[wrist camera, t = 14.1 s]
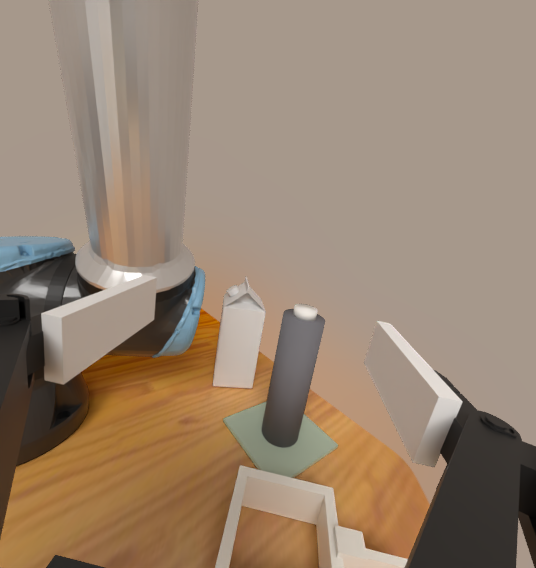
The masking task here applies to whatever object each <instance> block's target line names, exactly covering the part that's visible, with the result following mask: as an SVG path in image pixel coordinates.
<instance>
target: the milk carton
mask: <svg viewBox="0 0 536 568" xmlns="http://www.w3.org/2000/svg"><path fill="white" fill-rule="evenodd" d="M265 313H266V311H265V309H264V306H263V303H262V300H261V298H260V297H259V296H258V295H257V294H256V293H255V292H254V291H253V290H252V288H251V287H250V286H249V284H248V280H247V277H245V282H244V283H242V284H241V285H239V286H237V285H234V286H232V287H230V288H229V289H228V290H227V291H226V294H225V295H224V300H223V308H222V315H221V322H220V330H219V337H218V344H217V352H216V359H215V367H214V376H213V386H217V387H234V388H252V387H253V381H254V376H255V370H256V364H257V359H258V353H259V347H260V342H261V336H262V330H263V325H264V319H265Z"/></svg>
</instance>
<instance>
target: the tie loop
mask: <svg viewBox="0 0 536 568" xmlns="http://www.w3.org/2000/svg"><path fill="white" fill-rule="evenodd" d="M242 506H245V507H249V508H253V509H256V510H260V511H264V512H268V513H272V514H276V515H280V516H284V517H288V518H292V519H296V520H299V521H303V522H307V523H311V524H315V525H316V528H317V544H318V561H319V568H405V565H406V563H407V560H408V559H405V558H401V557H397V556H394V555H390V554H386V553H382V552H378V551H374V550H370V549H366V548H365V543H364V539H363V534H362V532H361V531H357V530H353V529H349V528H345V527H341V526H338V520H337V512H336V505H335V498H334V490H333V488H331V487H327V486H323V485H319V484H315V483H311V482H307V481H303V480H299V479H295V478H290V477H286V476H282V475H278V474H274V473H270V472H266V471H262V470H258V469H254V468H250V467H245V466H241V465H240V467H239V471H238V475H237V479H236V484H235V488H234V492H233V496H232V500H231V504H230V508H229V512H228V516H227V520H226V525H225V529H224V533H223V537H222V541H221V545H220V549H219V553H218V557H217V561H216V566H215V568H229V566H230V561H231V556H232V551H233V547H234V542H235V537H236V532H237V527H238V522H239V517H240V512H241V507H242Z"/></svg>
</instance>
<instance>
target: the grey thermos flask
mask: <svg viewBox="0 0 536 568" xmlns="http://www.w3.org/2000/svg"><path fill="white" fill-rule="evenodd" d="M317 312H318V310H317V309H316V308H315V307H313V306H310V305H306V304H296V305H295V306H294V309H288V310H285V311H284V314H283V319H282V324H281V330H280V335H279V340H278V345H277V350H276V355H275V361H274V366H273V371H272V376H271V382H270V387H269V392H268V397H267V403H266V408H265V413H264V418H263V423H262V434H263V436H264V438H265V439H266V440H267V441H268V442H269V443H270V444H272V445H274V446H277V447H281V448H286V447H291V446H293V445H294V444H295V443H296V442H297V440H298V436H299V432H300V428H301V423H302V419H303V415H304V410H305V406H306V402H307V397H308V393H309V389H310V385H311V380H312V376H313V372H314V367H315V363H316V359H317V354H318V350H319V346H320V342H321V337H322V333H323V328H324V324H325V320H324V318H323V317H321V316H320V315H318V314H317Z"/></svg>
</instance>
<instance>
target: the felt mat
mask: <svg viewBox="0 0 536 568" xmlns="http://www.w3.org/2000/svg"><path fill="white" fill-rule="evenodd" d="M266 403H267V401H266V402H264V403H261V404H259V405H256V406H254V407H251V408H249V409H246V410H243V411H241V412H238V413H236V414H233V415H231V416H228V417H226V418H223V422H224V423H225V425H226V426H227V427H228V429H229V430H230V431H231V433H232V434H233V436H234V437H235V438H236V440H237V441H238V442H239V444H240V445H241V447H242V448H243V449H244V451H245V452H246V453H247V455H248V456H249V458H250V459H251V460H252V462H253V463H254V465H255V466H256V467H257V469H258V470H262V471H266V472H270V473H274V474H278V475H282V476H286V477H290V478H294V477H296V476H297V475H299V474H300V473H302V472H303V471H304V470H306V469H307V468H309V467H310V466H312V465H313V464H315V463H316V462H317V461H319V460H320V459H322V458H323V457H325V456H326V455H328V454H329V453H330V452H332V451H333V450H335V449H336V448H337V447H338V444H337V443H335V442H334V441H333V440H332V439H331V438H330V437H329V436H328V435H327V434H326V433H324V432H323V431H322V430H321V429H320V428H319V427H318V426H317V425H316V424H315V423H313V422H312V421H311V420H310V419H309V418H308V417H307V416H306V415H305V414H304V415H303V419H302V423H301V428H300V432H299V436H298V440H297V442H296V443H295V444H294V445H293V446H291V447H286V448H281V447H277V446H274V445H272V444H270V443H269V442H268V441H267V440H266V439H265V438H264V436H263V434H262V423H263V418H264V413H265V408H266Z"/></svg>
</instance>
